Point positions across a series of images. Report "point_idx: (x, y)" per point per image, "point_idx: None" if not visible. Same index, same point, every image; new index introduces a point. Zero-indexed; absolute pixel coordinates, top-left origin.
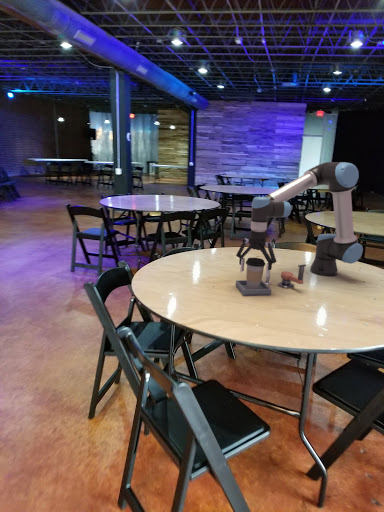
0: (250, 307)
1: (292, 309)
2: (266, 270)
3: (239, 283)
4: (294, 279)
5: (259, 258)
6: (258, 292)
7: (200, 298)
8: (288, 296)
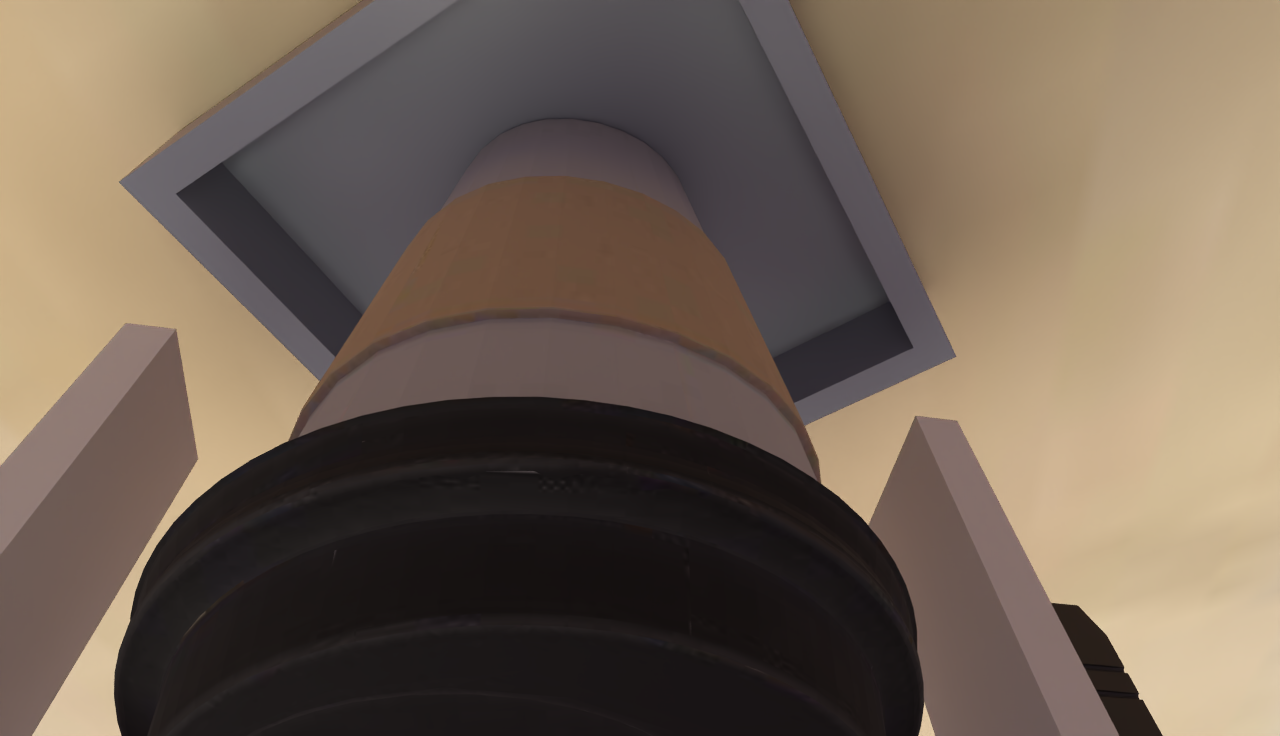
0: None
1: (1173, 588)
2: (929, 677)
3: (289, 328)
4: None
5: (630, 678)
6: None
7: (99, 725)
8: (1245, 196)
